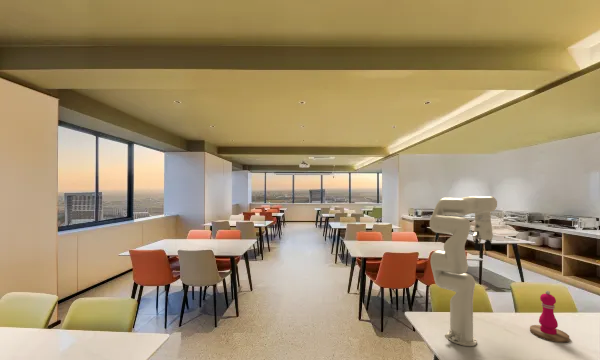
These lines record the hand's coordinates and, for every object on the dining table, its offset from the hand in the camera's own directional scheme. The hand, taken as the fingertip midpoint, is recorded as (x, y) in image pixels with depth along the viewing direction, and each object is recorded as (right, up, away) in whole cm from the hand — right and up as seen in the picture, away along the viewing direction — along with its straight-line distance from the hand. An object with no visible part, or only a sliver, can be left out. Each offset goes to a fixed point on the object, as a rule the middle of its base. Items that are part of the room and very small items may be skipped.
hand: (482, 249), depth 165 cm
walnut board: (+22, -38, -18) cm, 47 cm away
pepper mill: (+22, -37, -17) cm, 46 cm away
